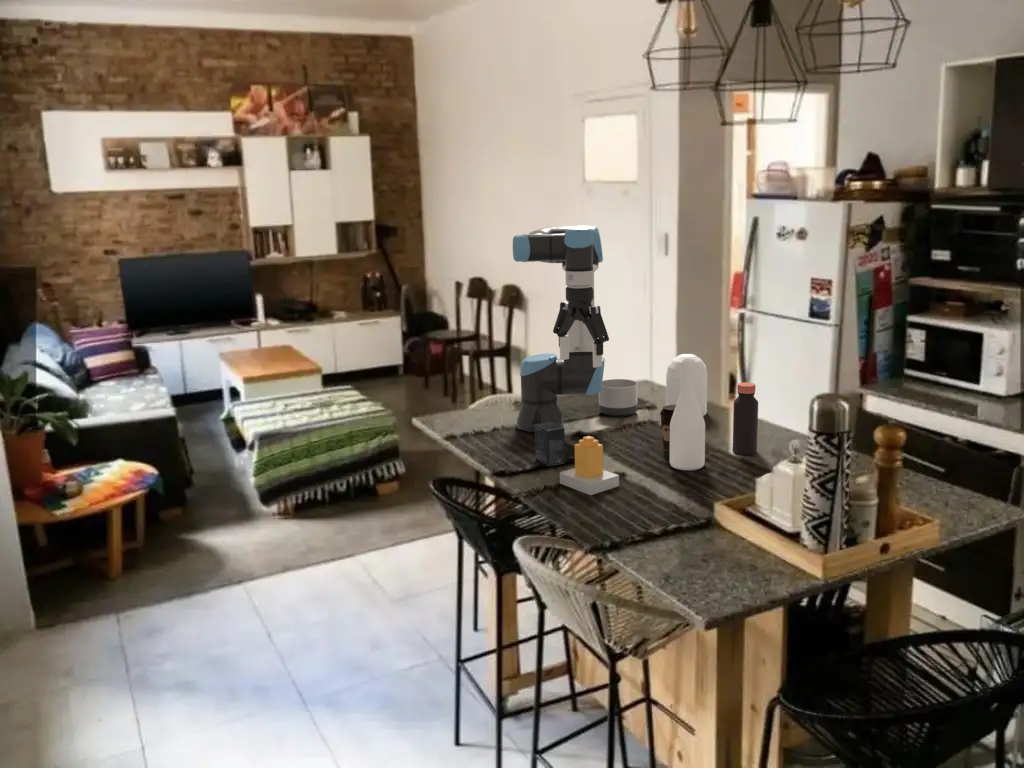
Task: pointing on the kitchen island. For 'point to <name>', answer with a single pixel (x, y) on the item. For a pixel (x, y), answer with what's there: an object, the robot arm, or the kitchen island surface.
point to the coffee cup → (666, 425)
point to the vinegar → (745, 420)
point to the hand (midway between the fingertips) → (580, 363)
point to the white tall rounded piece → (687, 425)
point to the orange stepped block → (588, 457)
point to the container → (676, 381)
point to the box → (550, 443)
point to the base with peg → (589, 481)
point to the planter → (618, 397)
